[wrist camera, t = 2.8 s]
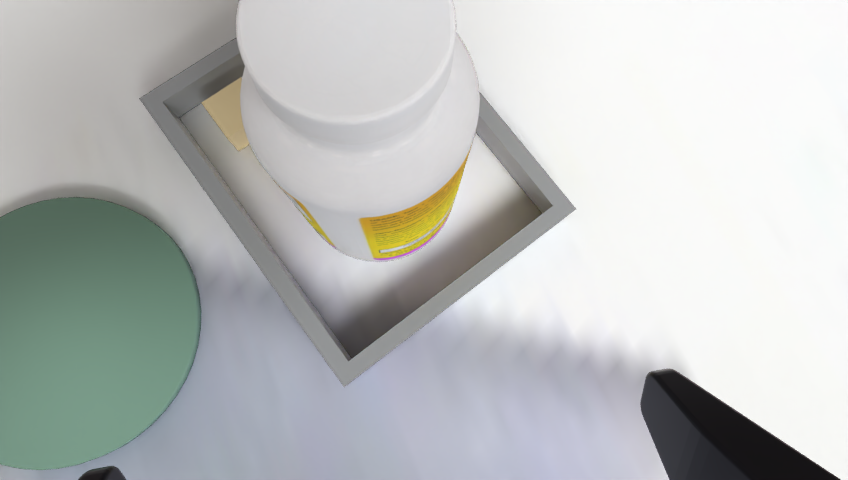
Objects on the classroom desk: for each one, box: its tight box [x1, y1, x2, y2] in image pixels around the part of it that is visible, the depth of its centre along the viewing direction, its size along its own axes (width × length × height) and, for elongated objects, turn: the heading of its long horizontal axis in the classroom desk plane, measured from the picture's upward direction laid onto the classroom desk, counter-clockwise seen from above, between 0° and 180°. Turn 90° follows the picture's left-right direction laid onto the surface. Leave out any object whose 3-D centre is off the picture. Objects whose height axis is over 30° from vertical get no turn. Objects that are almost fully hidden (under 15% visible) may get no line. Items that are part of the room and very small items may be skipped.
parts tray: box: [139, 38, 576, 387], centre depth 23 cm, size 15×12×2 cm
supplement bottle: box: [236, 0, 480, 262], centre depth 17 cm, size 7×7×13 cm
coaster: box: [0, 197, 201, 470], centre depth 22 cm, size 11×11×1 cm
